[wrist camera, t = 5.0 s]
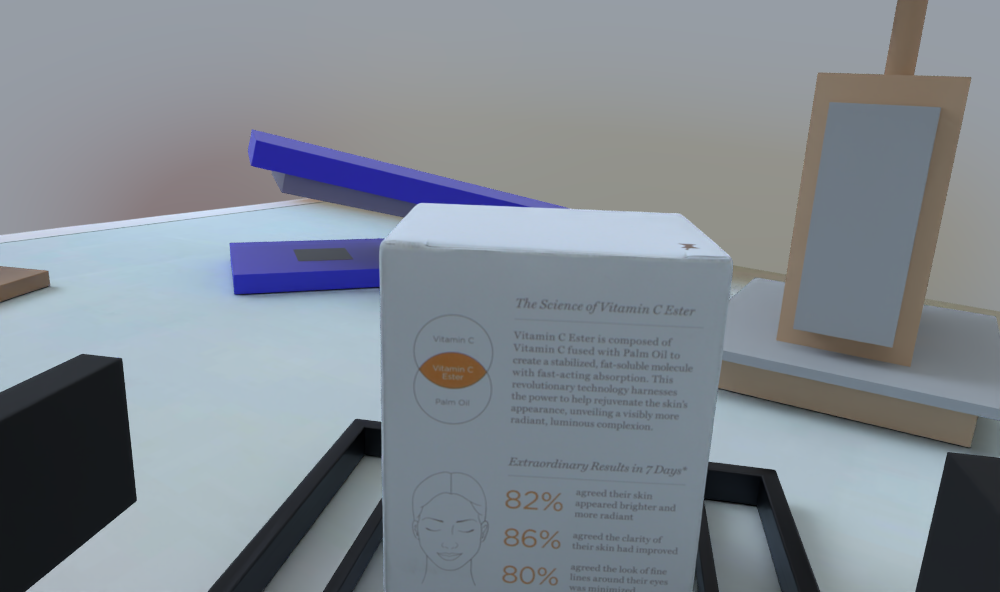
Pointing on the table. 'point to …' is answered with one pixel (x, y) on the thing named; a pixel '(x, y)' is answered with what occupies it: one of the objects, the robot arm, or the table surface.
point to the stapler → (347, 185)
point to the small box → (547, 398)
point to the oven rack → (303, 506)
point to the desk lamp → (871, 264)
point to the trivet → (21, 281)
